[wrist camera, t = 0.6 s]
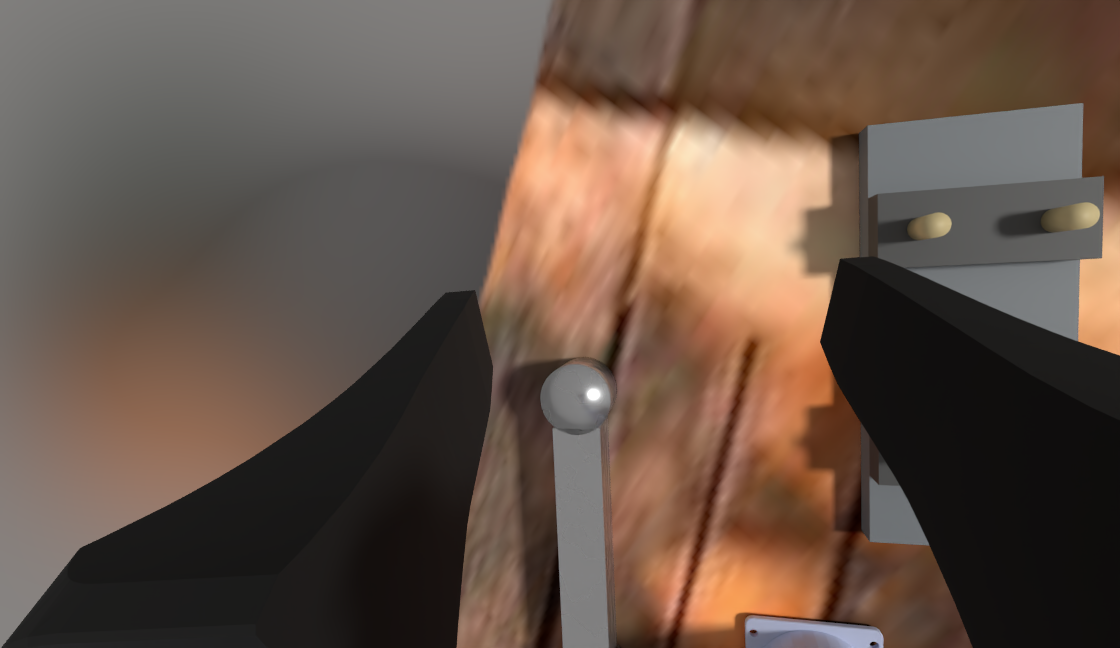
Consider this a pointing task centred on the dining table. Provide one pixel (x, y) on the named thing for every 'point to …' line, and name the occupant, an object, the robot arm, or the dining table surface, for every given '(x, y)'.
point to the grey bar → (583, 499)
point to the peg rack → (977, 234)
